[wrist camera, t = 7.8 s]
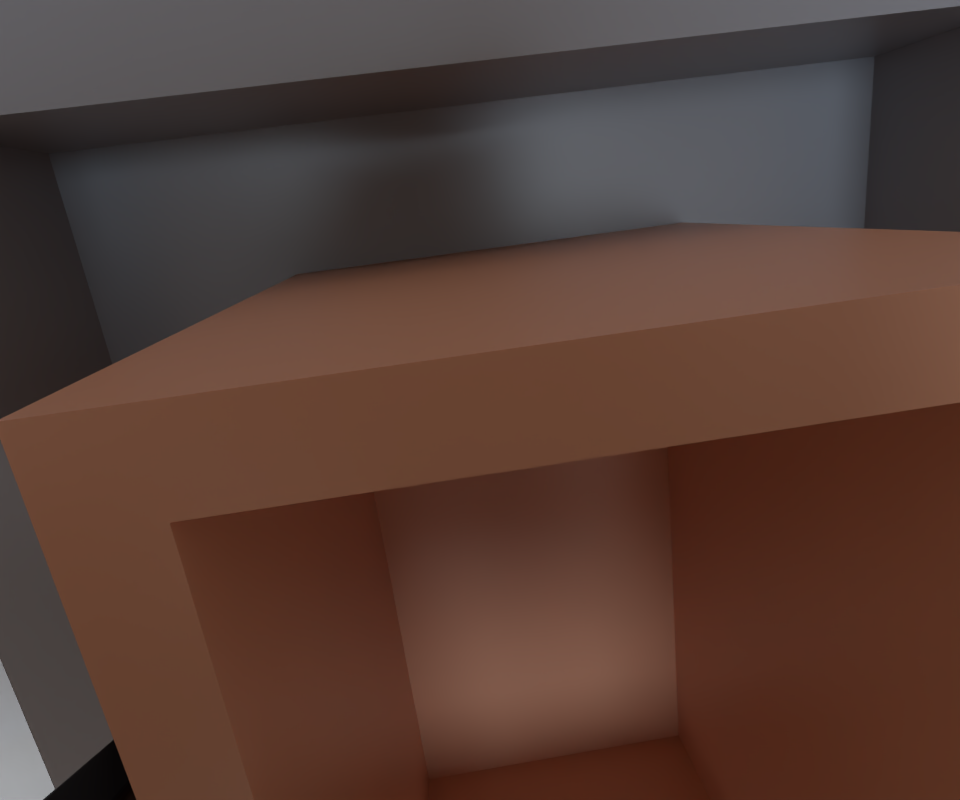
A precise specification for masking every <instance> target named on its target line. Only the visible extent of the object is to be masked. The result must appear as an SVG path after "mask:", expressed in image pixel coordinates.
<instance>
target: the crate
mask: <svg viewBox="0 0 960 800" xmlns="http://www.w3.org/2000/svg"><path fill="white" fill-rule="evenodd" d="M676 223H712V224H742V225H772V226H802V227H832V228H861V229H891V230H921V231H951V232H960V0H0V419H1V418H3V417H5V416H7V415H9V414H12V413H14V412H16V411H18V410H20V409H22V408H24V407H26V406H28V405H30V404H32V403H34V402H36V401H38V400H40V399H42V398H44V397H46V396H48V395H50V394H53V393H55V392H57V391H59V390H61V389H63V388H65V387H67V386H69V385H71V384H73V383H75V382H77V381H79V380H81V379H83V378H85V377H87V376H89V375H92V374H94V373H96V372H98V371H100V370H102V369H104V368H106V367H108V366H110V365H112V364H114V363H116V362H118V361H120V360H122V359H124V358H126V357H128V356H130V355H133V354H135V353H137V352H139V351H141V350H143V349H145V348H147V347H149V346H151V345H153V344H155V343H157V342H159V341H161V340H163V339H165V338H167V337H169V336H171V335H174V334H176V333H178V332H180V331H182V330H184V329H186V328H188V327H190V326H192V325H194V324H196V323H198V322H200V321H202V320H204V319H206V318H208V317H210V316H212V315H215V314H217V313H219V312H221V311H223V310H225V309H227V308H229V307H231V306H233V305H235V304H237V303H239V302H241V301H243V300H245V299H247V298H249V297H251V296H253V295H256V294H258V293H260V292H262V291H264V290H266V289H268V288H270V287H272V286H274V285H276V284H278V283H280V282H282V281H284V280H286V279H288V278H290V277H292V276H294V275H297V274H302V273H310V272H317V271H325V270H332V269H340V268H347V267H355V266H362V265H370V264H377V263H385V262H392V261H399V260H407V259H414V258H422V257H429V256H437V255H444V254H452V253H459V252H467V251H474V250H482V249H489V248H497V247H504V246H511V245H519V244H526V243H534V242H541V241H549V240H556V239H564V238H571V237H579V236H586V235H594V234H601V233H609V232H616V231H624V230H631V229H638V228H646V227H653V226H661V225H668V224H676ZM0 659H1V661H2V664H3V666H4V668H5V671H6V673H7V676H8V678H9V680H10V683H11V685H12V688H13V690H14V692H15V695H16V697H17V699H18V702H19V704H20V707H21V709H22V711H23V714H24V716H25V718H26V721H27V723H28V726H29V728H30V730H31V733H32V735H33V738H34V740H35V742H36V745H37V747H38V749H39V752H40V754H41V757H42V759H43V761H44V764H45V766H46V768H47V771H48V773H49V776H50V778H51V780H52V783H53V785H54V788H55V789H56V788H57V787H58V786H60V785H61V784H62V783H63V782H64V781H65V780H67V779H68V778H69V777H70V776H71V775H73V774H74V773H75V772H76V771H77V770H78V769H80V768H81V767H82V766H83V765H84V764H85V763H87V762H88V761H89V760H90V759H91V758H92V757H94V756H95V755H96V754H97V753H98V752H99V751H101V750H102V749H103V748H104V747H105V746H106V745H108V744H109V743H110V742H111V741H112V740H113V737H112V734H111V731H110V729H109V726H108V723H107V721H106V718H105V715H104V713H103V710H102V707H101V705H100V702H99V700H98V697H97V694H96V692H95V689H94V686H93V684H92V681H91V678H90V676H89V673H88V670H87V668H86V665H85V662H84V660H83V657H82V654H81V652H80V649H79V647H78V644H77V641H76V639H75V636H74V633H73V631H72V628H71V625H70V623H69V620H68V617H67V615H66V612H65V609H64V607H63V604H62V602H61V599H60V596H59V594H58V591H57V588H56V586H55V583H54V580H53V578H52V575H51V572H50V570H49V567H48V564H47V562H46V559H45V557H44V554H43V551H42V549H41V546H40V543H39V541H38V538H37V535H36V533H35V530H34V527H33V525H32V522H31V519H30V517H29V514H28V512H27V509H26V506H25V504H24V501H23V498H22V496H21V493H20V490H19V488H18V485H17V482H16V480H15V477H14V474H13V472H12V469H11V467H10V464H9V461H8V459H7V456H6V453H5V451H4V448H3V445H2V443H1V440H0Z"/></svg>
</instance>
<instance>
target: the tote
mask: <svg viewBox="0 0 960 800" xmlns="http://www.w3.org/2000/svg"><path fill="white" fill-rule="evenodd" d="M0 440H1V443H2V445H3V448H4V451H5V453H6V456H7V459H8V461H9V464H10V467H11V469H12V472H13V474H14V477H15V480H16V482H17V485H18V488H19V490H20V493H21V496H22V498H23V501H24V504H25V506H26V509H27V512H28V514H29V517H30V519H31V522H32V525H33V527H34V530H35V533H36V535H37V538H38V541H39V543H40V546H41V549H42V551H43V554H44V557H45V559H46V562H47V564H48V567H49V570H50V572H51V575H52V578H53V580H54V583H55V586H56V588H57V591H58V594H59V596H60V599H61V602H62V604H63V607H64V609H65V612H66V615H67V617H68V620H69V623H70V625H71V628H72V631H73V633H74V636H75V639H76V641H77V644H78V647H79V649H80V652H81V654H82V657H83V660H84V662H85V665H86V668H87V670H88V673H89V676H90V678H91V681H92V684H93V686H94V689H95V692H96V694H97V697H98V700H99V702H100V705H101V707H102V710H103V713H104V715H105V718H106V721H107V723H108V726H109V729H110V731H111V734H112V737H113V739H114V742H115V745H116V747H117V750H118V752H119V755H120V758H121V760H122V763H123V766H124V768H125V771H126V774H127V776H128V779H129V782H130V784H131V787H132V790H133V792H134V795H135V797H136V800H960V232H951V231H921V230H891V229H861V228H832V227H802V226H772V225H742V224H712V223H676V224H668V225H661V226H653V227H646V228H638V229H631V230H624V231H616V232H609V233H601V234H594V235H586V236H579V237H571V238H564V239H556V240H549V241H541V242H534V243H526V244H519V245H511V246H504V247H497V248H489V249H482V250H474V251H467V252H459V253H452V254H444V255H437V256H429V257H422V258H414V259H407V260H399V261H392V262H385V263H377V264H370V265H362V266H355V267H347V268H340V269H332V270H325V271H317V272H310V273H302V274H297V275H294V276H292V277H290V278H288V279H286V280H284V281H282V282H280V283H278V284H276V285H274V286H272V287H270V288H268V289H266V290H264V291H262V292H260V293H258V294H256V295H253V296H251V297H249V298H247V299H245V300H243V301H241V302H239V303H237V304H235V305H233V306H231V307H229V308H227V309H225V310H223V311H221V312H219V313H217V314H215V315H212V316H210V317H208V318H206V319H204V320H202V321H200V322H198V323H196V324H194V325H192V326H190V327H188V328H186V329H184V330H182V331H180V332H178V333H176V334H174V335H171V336H169V337H167V338H165V339H163V340H161V341H159V342H157V343H155V344H153V345H151V346H149V347H147V348H145V349H143V350H141V351H139V352H137V353H135V354H133V355H130V356H128V357H126V358H124V359H122V360H120V361H118V362H116V363H114V364H112V365H110V366H108V367H106V368H104V369H102V370H100V371H98V372H96V373H94V374H92V375H89V376H87V377H85V378H83V379H81V380H79V381H77V382H75V383H73V384H71V385H69V386H67V387H65V388H63V389H61V390H59V391H57V392H55V393H53V394H50V395H48V396H46V397H44V398H42V399H40V400H38V401H36V402H34V403H32V404H30V405H28V406H26V407H24V408H22V409H20V410H18V411H16V412H14V413H12V414H9V415H7V416H5V417H3V418H1V419H0Z"/></svg>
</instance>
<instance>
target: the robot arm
mask: <svg viewBox="0 0 960 800" xmlns="http://www.w3.org/2000/svg"><path fill="white" fill-rule="evenodd" d="M43 800H136V797H135V795H134V792H133V790H132V787H131V784H130V782H129V779H128V776H127V774H126V771H125V768H124V766H123V763H122V760H121V758H120V755H119V752H118V750H117V747H116V745H115V742H114V739H113V740H112V741H111V742H110V743H109V744H108V745H106V746H105V747H104V748H103V749H102V750H101V751H99V752H98V753H97V754H96V755H95V756H94V757H92V758H91V759H90V760H89V761H88V762H87V763H85V764H84V765H83V766H82V767H81V768H80V769H78V770H77V771H76V772H75V773H74V774H73V775H71V776H70V777H69V778H68V779H67V780H65V781H64V782H63V783H62V784H61V785H60V786H58V787H57V788H56V789H55V790H54V791H53V792H51V793H50V794H49V795H48V796H47V797H46V798H44V799H43Z"/></svg>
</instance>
